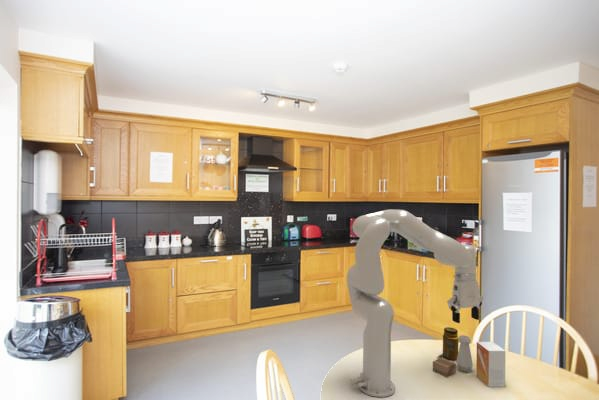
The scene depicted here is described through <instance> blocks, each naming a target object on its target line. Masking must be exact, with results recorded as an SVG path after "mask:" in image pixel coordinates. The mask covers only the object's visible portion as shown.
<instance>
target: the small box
mask: <svg viewBox="0 0 599 400" xmlns="http://www.w3.org/2000/svg"><path fill="white" fill-rule="evenodd" d="M475 369H476V370H475V371H476V372H475V373H476V374H475V375H476V377H477V378H479V379H480V381H481V382H482V383H484V384H485V385H486V386H487V387H488V388H505V387H506V350H505V349H503V348H502V347H501V346H499V345H498V344H496V343H495V342H494V341H476V368H475Z"/></svg>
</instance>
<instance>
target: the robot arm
mask: <svg viewBox="0 0 599 400" xmlns="http://www.w3.org/2000/svg"><path fill="white" fill-rule="evenodd" d="M352 231H353V233H354V234H355V235H356V237H358V238H359V239H358V241H357V243H356V245H355V249H354V259H355V260H354V261H355V264H352V265H351V266H350V267H349V268H348V271H347V274H346V285H347V290H348V294H349V300H350V304H351V308H352V310H353V312H354V313H355V314H356V315H357V316H358V317H360V318H362V319H363V320H365V321H366V325H365V326H364V330H363V335H362V372H360V373H359V376H358V377H355V378H354V377H353V378H350V380H349V381H350V385H351V386H355V385H357V388H358V389H359V390H360V391H361V392H362V393H364V394H366V395H369V396H371V397H375V398H386V397H390V396H391V395H393V394H394V393H395V391H396V386H395V383H394V382H393V381H392V380H391V379H392V378H391V377H392V376H391V375H392V374H391V369H392V368H391V367H392V366H391V362H392V361H391V360H392V359H391V357H392V354H391V353H392V348H391V347H392V343H391V342H392V329H393V322H394V318H395V317H394V316H395V311H394V308H393V306H392V304H391V303H390V302H389V301H388V300H386V299H385V298H383V297H380V296H379V295H381V294H382V293H383V291H384V289H385V278H384V273H383V268H382V264H381V254H380V252H381V249H382V246H383V244H384V243H385V241H386V240H387V239H388V237H389V236H390V234H391V233H396V234H399V235H400V236H401V237H402V238H404V239H406V240H408V242H410V243H412V244H413V245H415V246H416V247H418V248H420V249H422V250H424V251H427V252H431V253H433V256H434V259H435V261H436V262H438V263H439V264H442V265H445V266H450V267H454V275H453V278H454V280H453V284H452V296H451V298H449V299H447V302H446V303H447V306H448V308H449V309H450V311H451V312H452V313H451V314H452V316H451V317H452V320H451V321H453V322H454V323H457V324H460V323H461V313H460V310H461V308H462V309H466V308H471V311H470V312H471V319H474V320H476V321H478V320H480V310H481V306H482V304H483V301H484V296H482V295H481V294H480V293H481V292H480V286H479V282H478V280H477V250H476V247H475V246H473V245H469V244H462V243H461V242H459V241H458V240H456V239H454V238H453V237H451V236H448V235H447V234H445V233H442V232H440V231H438V230H436V229H433V228H432V227H431V226H429V225H428V224H426V223H424V222H423V221H422V220H421V219H420V218H418V217H416V216H415V215H414V214H412V213H410V211H407V210H405V209H384V210H381V211H376V212H372V213H368V214H363V215H360V216H358V217H357V218H356V219H354V222H353V224H352Z"/></svg>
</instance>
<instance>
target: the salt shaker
mask: <svg viewBox="0 0 599 400" xmlns="http://www.w3.org/2000/svg"><path fill="white" fill-rule="evenodd" d="M471 341H472V340H471V337H470V336H468V335H465V334H461V335H459V336H458V343H460V344H459V346H458V356H457V361H456V366H457V368H458V370H459V371H462V372H463V373H469V372H471V371H472V368H473V366H474V363H473V359H472V358H473V357H472V353H471V347H470V344H471Z"/></svg>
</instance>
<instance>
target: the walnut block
mask: <svg viewBox="0 0 599 400" xmlns="http://www.w3.org/2000/svg"><path fill="white" fill-rule="evenodd" d="M432 372H434V373H436V374H438V375H440V376H442V377H445V378H449V377H451V376H452V377H453V376H454V375H455V374H457V363H454V362H451V361H449V360H447V359H444V358H440V359H438V358H437V359H435V360H433V361H432Z"/></svg>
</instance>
